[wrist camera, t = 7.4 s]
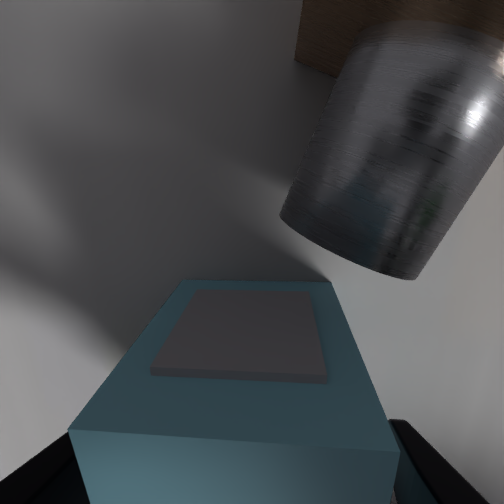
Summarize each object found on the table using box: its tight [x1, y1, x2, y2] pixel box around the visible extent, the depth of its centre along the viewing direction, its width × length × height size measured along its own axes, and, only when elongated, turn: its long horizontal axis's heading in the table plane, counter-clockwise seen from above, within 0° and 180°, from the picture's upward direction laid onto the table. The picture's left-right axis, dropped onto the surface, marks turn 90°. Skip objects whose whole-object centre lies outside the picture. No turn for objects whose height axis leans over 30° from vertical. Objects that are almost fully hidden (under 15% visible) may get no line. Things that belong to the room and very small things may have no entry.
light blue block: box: [68, 280, 400, 504], centre depth 8 cm, size 6×5×6 cm
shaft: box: [279, 0, 504, 280], centre depth 5 cm, size 7×5×5 cm
